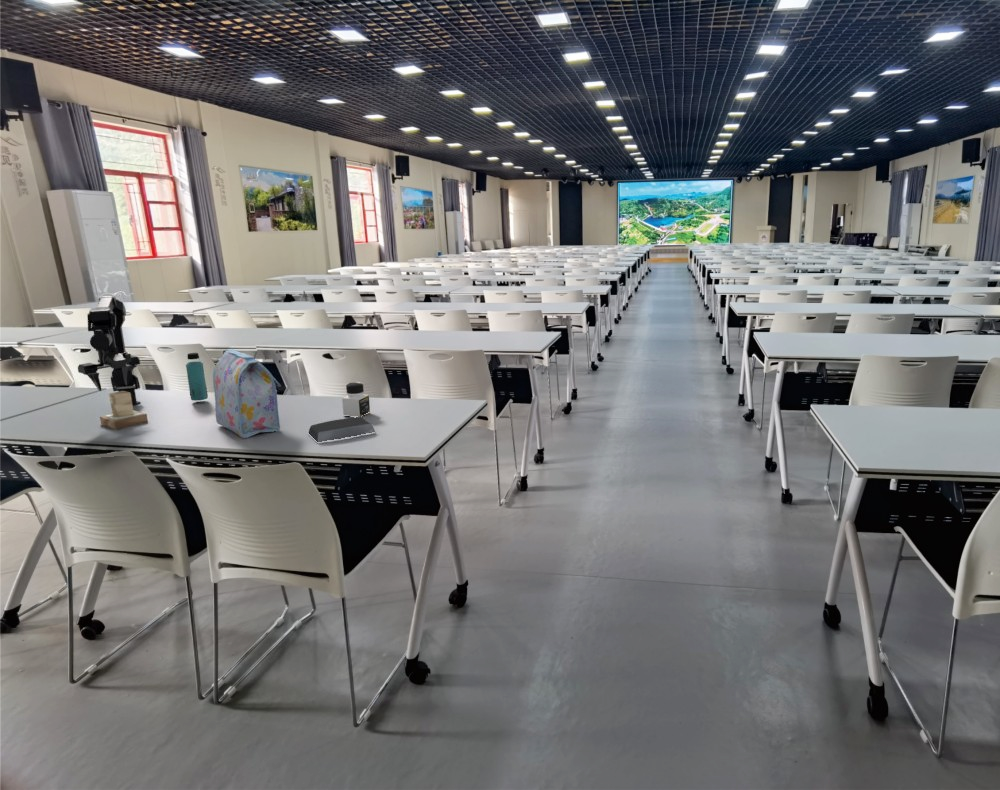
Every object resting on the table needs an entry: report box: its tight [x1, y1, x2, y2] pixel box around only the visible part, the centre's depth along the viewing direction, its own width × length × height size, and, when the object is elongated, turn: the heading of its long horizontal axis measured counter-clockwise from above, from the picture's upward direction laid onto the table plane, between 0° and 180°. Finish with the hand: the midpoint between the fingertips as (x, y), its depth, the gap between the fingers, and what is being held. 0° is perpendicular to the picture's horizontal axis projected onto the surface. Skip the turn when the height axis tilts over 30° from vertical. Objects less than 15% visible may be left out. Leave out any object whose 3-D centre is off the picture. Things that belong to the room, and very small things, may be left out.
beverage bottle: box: [185, 352, 209, 402], centre depth 258 cm, size 6×7×20 cm
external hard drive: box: [308, 417, 376, 443], centre depth 216 cm, size 13×19×4 cm
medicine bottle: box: [341, 381, 371, 417], centre depth 237 cm, size 7×7×12 cm
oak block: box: [108, 391, 134, 417], centre depth 232 cm, size 5×5×8 cm
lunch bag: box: [212, 348, 282, 439], centre depth 222 cm, size 22×17×26 cm
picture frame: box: [99, 409, 149, 430], centre depth 233 cm, size 11×11×3 cm
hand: (113, 387), depth 233 cm, fingers open, 9 cm apart
